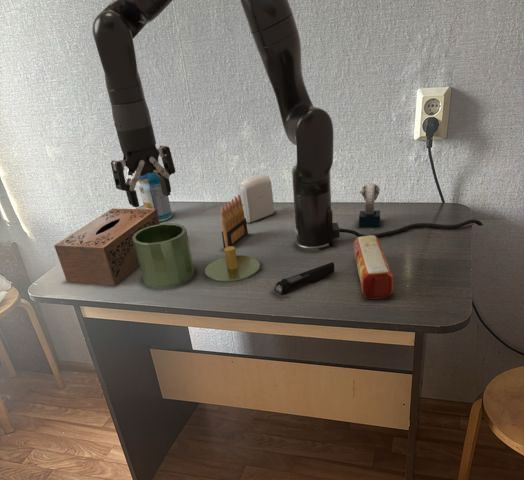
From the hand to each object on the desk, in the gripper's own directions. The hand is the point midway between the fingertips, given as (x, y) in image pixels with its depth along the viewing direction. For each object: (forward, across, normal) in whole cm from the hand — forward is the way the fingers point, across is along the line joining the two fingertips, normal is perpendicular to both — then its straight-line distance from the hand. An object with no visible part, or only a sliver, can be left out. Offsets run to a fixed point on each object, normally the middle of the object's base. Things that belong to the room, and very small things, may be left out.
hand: (151, 200), depth 116 cm
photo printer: (+20, +41, +10) cm, 46 cm away
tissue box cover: (+19, -3, +20) cm, 28 cm away
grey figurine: (+20, +53, -22) cm, 61 cm away
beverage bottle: (+20, +24, +38) cm, 49 cm away
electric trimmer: (+20, +16, -30) cm, 40 cm away
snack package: (+20, +27, -41) cm, 53 cm away
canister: (+19, 0, 0) cm, 19 cm away
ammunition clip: (+20, +24, +2) cm, 31 cm away
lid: (+19, +11, -11) cm, 25 cm away
